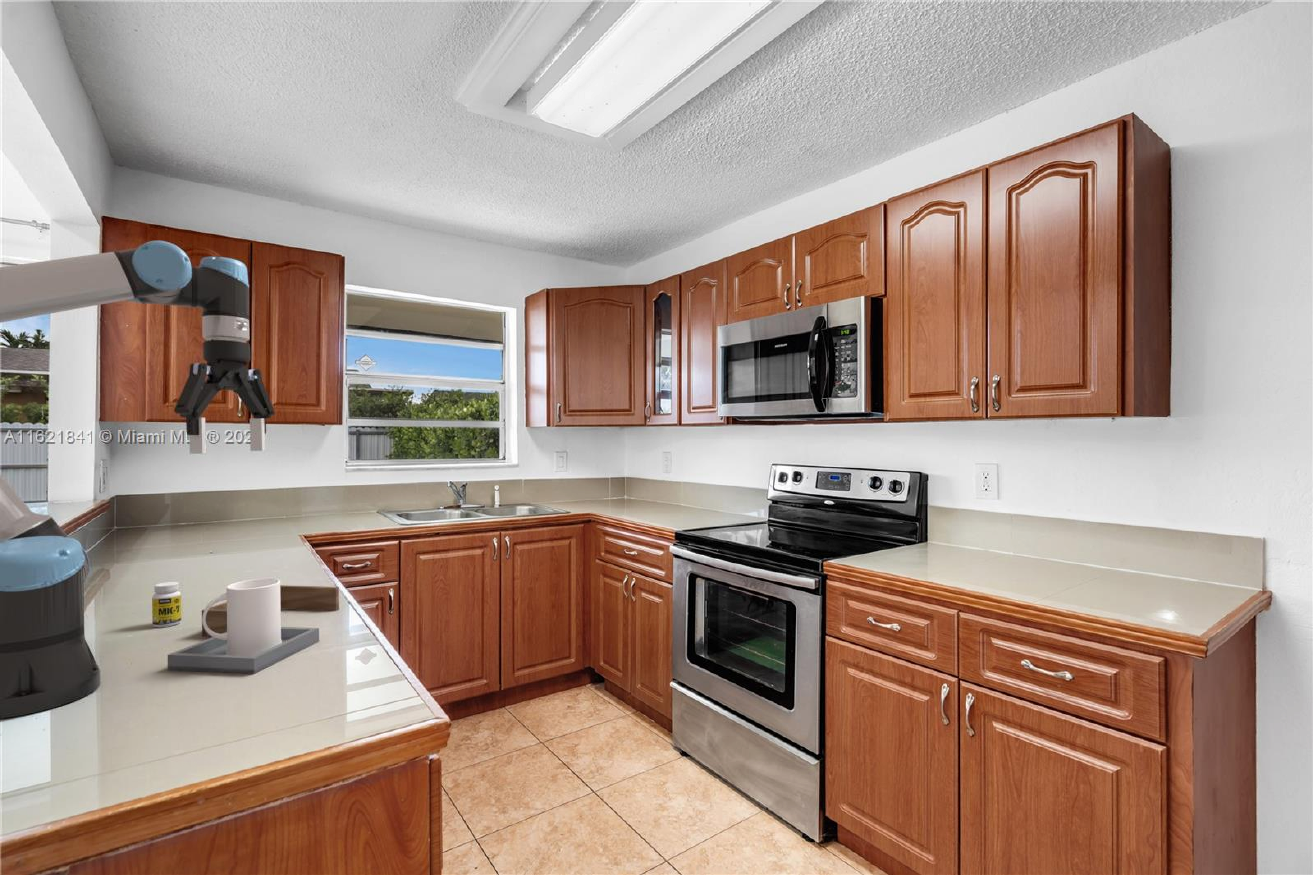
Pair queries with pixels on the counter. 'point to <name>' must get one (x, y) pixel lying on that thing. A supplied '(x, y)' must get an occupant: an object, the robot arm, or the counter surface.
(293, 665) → the counter surface
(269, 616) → the mug
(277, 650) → the tray
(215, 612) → the bay
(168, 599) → the supplement bottle
